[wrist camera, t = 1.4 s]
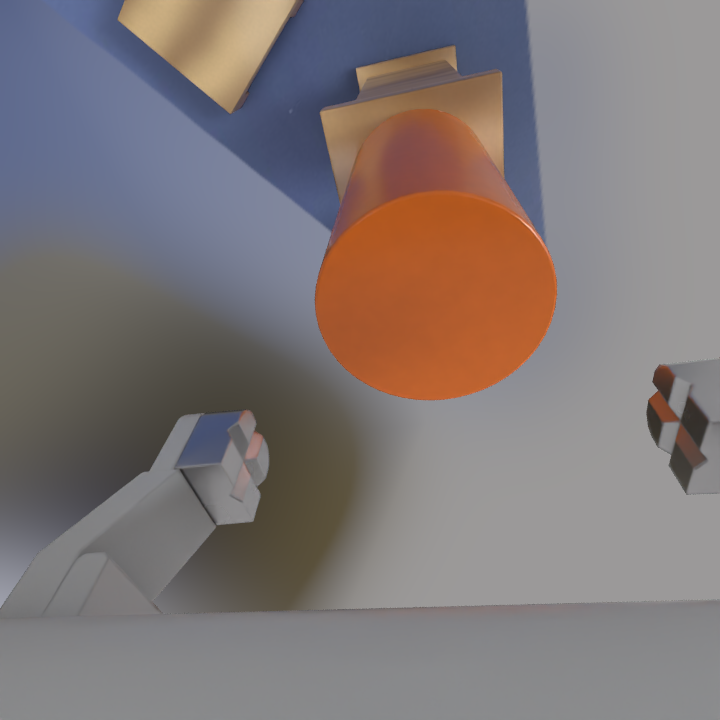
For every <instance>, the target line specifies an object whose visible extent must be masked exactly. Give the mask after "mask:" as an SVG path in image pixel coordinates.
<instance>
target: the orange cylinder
mask: <svg viewBox="0 0 720 720" xmlns="http://www.w3.org/2000/svg"><path fill="white" fill-rule="evenodd" d="M315 292H316V293H315V310H316V317H317V321H318V325H319V329H320V331H321V334H322V336H323V339H324V341H325V342H326V344H327V346H328V348H329V350H330V351H331V353H332V354H333V355H334V357H335V358H336V359H337V361H338V362H339V363H340V364H341V365H342V366H343V367H344V368H345V369H346V370H347V371H348V372H350V373H351V374H352V375H353V376H355V377H356V378H357V379H359V380H361V381H362V382H364V383H365V384H367V385H369V386H371V387H373V388H375V389H377V390H379V391H382V392H385V393H388V394H390V395H394V396H398V397H402V398H408V399H415V400H444V399H451V398H457V397H461V396H465V395H469V394H472V393H475V392H478V391H481V390H484V389H486V388H488V387H490V386H492V385H494V384H496V383H498V382H499V381H501V380H503V379H504V378H506V377H507V376H509V375H510V374H511V373H513V372H514V371H515V370H517V369H518V368H519V367H520V366H521V365H522V364H523V363H524V362H525V361H526V360H527V359H528V358H529V357H530V356H531V355H532V354H533V352H534V351H535V350H536V349H537V348H538V346H539V344H540V343H541V341H542V340H543V338H544V336H545V335H546V332H547V330H548V328H549V326H550V323H551V321H552V317H553V313H554V310H555V305H556V296H557V279H556V274H555V268H554V264H553V261H552V259H551V256H550V253H549V251H548V249H547V247H546V245H545V244H544V242H543V240H542V238H541V237H540V235H539V233H538V232H537V230H536V229H535V227H534V225H533V224H532V222H531V221H530V219H529V218H528V216H527V214H526V213H525V211H524V210H523V208H522V206H521V205H520V203H519V202H518V200H517V198H516V197H515V195H514V194H513V192H512V191H511V189H510V187H509V186H508V184H507V183H506V181H505V179H504V178H503V176H502V175H501V173H500V171H499V170H498V168H497V167H496V165H495V164H494V162H493V160H492V159H491V157H490V156H489V154H488V152H487V151H486V149H485V148H484V146H483V145H482V143H481V141H480V140H479V138H478V137H477V135H476V134H475V133H474V132H473V130H472V129H471V128H470V127H469V126H468V125H467V124H465V123H464V122H463V121H461V120H460V119H458V118H457V117H455V116H453V115H451V114H449V113H446V112H443V111H440V110H434V109H415V110H409V111H405V112H402V113H399V114H397V115H395V116H392V117H390V118H389V119H387V120H386V121H384V122H382V123H381V124H380V125H379V126H378V127H376V128H375V129H374V130H373V131H372V132H371V133H370V135H369V136H368V137H367V138H366V140H365V141H364V143H363V144H362V146H361V148H360V149H359V151H358V154H357V156H356V159H355V161H354V165H353V168H352V171H351V174H350V177H349V180H348V183H347V186H346V190H345V193H344V196H343V199H342V202H341V205H340V208H339V212H338V215H337V218H336V221H335V224H334V227H333V230H332V234H331V237H330V240H329V243H328V246H327V249H326V253H325V256H324V259H323V262H322V265H321V268H320V272H319V275H318V280H317V284H316V291H315Z"/></svg>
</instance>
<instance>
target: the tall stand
mask: <svg viewBox="0 0 720 720" xmlns="http://www.w3.org/2000/svg"><path fill="white" fill-rule="evenodd" d="M356 73H357V78H358V84H359V90H360V93H359V95H358V97H357V99H356V100H355V101H350V102H346V103H341V104H337V105H332V106H328V107H324V108H323V109H322V110H321V111H320V116H321V121H322V125H323V130H324V134H325V138H326V143H327V147H328V152H329V156H330V160H331V165H332V169H333V174H334V178H335V183H336V187H337V191H338V196H339V200H340V205H341V202H342V199H343V196H344V193H345V190H346V186H347V183H348V180H349V177H350V174H351V171H352V168H353V165H354V161H355V159H356V156H357V154H358V151H359V149H360V148H361V146H362V144H363V143H364V141H365V140H366V138H367V137H368V136H369V135H370V133H371V132H372V131H373V130H374V129H375V128H376V127H378V126H379V125H380V124H381V123H382V122H384V121H386V120H387V119H389V118H390V117H392V116H395V115H397V114H399V113H402V112H405V111H409V110H415V109H434V110H440V111H443V112H446V113H449V114H451V115H453V116H455V117H457V118H458V119H460V120H461V121H463V122H464V123H465V124H467V125H468V126H469V127H470V128H471V129H472V130H473V132H474V133H475V134H476V135H477V137H478V138H479V140H480V141H481V143H482V145H483V146H484V148H485V149H486V151H487V152H488V154H489V156H490V157H491V159H492V160H493V162H494V164H495V165H496V167H497V168H498V170H499V171H500V173H501V175H502V176H503V178H504V147H503V95H502V72H501V71H499V70H498V69H494V70H489V71H485V72H480V73H476V74H471V75H467V76H461V75H460V74H459V73H458V72H457V63H456V48H455V45H450V46H446V47H442V48H437V49H433V50H429V51H425V52H420V53H416V54H412V55H408V56H403V57H399V58H395V59H391V60H386V61H382V62H378V63H374V64H369V65H365V66H361V67H357V68H356Z"/></svg>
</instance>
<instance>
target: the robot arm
mask: <svg viewBox="0 0 720 720" xmlns="http://www.w3.org/2000/svg"><path fill="white" fill-rule="evenodd" d="M653 383H654V385H655V386H656V387H657V389H658V391H657V392H656V393H655V394H654V395H653V396H652V397H651V398H650V399H649V400H648V406H647V421H648V427H649V430H650V433H651V436H652V438H653V440H654V441H655V443H656V445H657V447H658V448H660V449H662V450H664V451H665V452H667V453H669V454H671V459H670V463H669V467H670V468H671V470H672V472H673V473H674V475H675V476H676V478H677V479H678V481H679V483H680V485H681V486H682V488H683V490H684V491H685V493H686V494H687V495H689V494H690V495H691V494H717V493H720V358H716V359H706V360H697V361H688V362H680V363H672V364H663V365H659V366H658V367H657V369H656V370H655V373H654V377H653ZM256 423H257V422H256V419H255V418H254V416H253V414H252V412H251V411H249V410H246V409H245V410H234V411H222V412H209V413H204V414H190V415H184V416H182V417H181V418H179V419H178V421H177V423H176V425H175V426H174V429H173V430H172V432H171V434H170V435H169V437H168V439H167V441H166V442H165V444H164V446H163V448H162V450H161V452H160V453H159V455H158V457H157V459H156V461H155V462H154V464H153V466H152V468H151V470H150V471H149V472H143V473H141V474H140V475H138V476H137V477H136V478H135V479H133V480H132V481H131V482H129V483H128V484H127V485H126V486H124V487H123V488H122V489H121V490H119V491H118V492H116V493H115V494H114V495H113V496H111V497H110V498H109V499H108V500H106V501H105V502H104V503H102V504H101V505H100V506H99V507H97V508H96V509H94V510H93V511H92V512H91V513H90V514H88V515H87V516H85V517H84V518H83V519H82V520H80V521H79V522H78V523H77V524H75V525H74V526H72V527H71V528H70V529H69V530H67V531H66V532H65V533H63V534H62V535H61V536H60V537H58V538H57V539H56V540H54V541H53V542H52V543H51V544H49V545H48V546H47V547H45V548H44V549H43V550H42V551H40V552H39V553H38V554H37V555H36V557H35V558H34V559H33V561H32V563H31V564H30V565H29V567H28V568H27V570H26V571H25V573H24V574H23V576H22V577H21V579H20V580H19V582H18V583H17V585H16V586H15V587H14V589H13V590H12V592H11V593H10V595H9V596H8V598H7V599H6V601H5V602H4V604H3V605H2V607H1V608H0V720H720V599H717V600H680V601H642V602H607V603H606V602H603V603H568V604H567V603H566V604H528V605H491V606H490V605H489V606H451V607H413V608H376V609H338V610H299V611H261V612H260V611H259V612H223V613H222V612H220V613H184V614H183V613H182V614H163V613H162V612H161V611H160V610H159V609H158V608H157V606H156V605H155V604H154V603H153V600H155V598H156V597H157V596H158V595H159V594H160V592H161V591H162V590H163V589H164V588H165V586H166V585H167V584H168V583H169V582H170V581H171V580H172V578H173V577H174V576H175V575H176V574H177V572H178V571H179V570H180V569H181V568H182V567H183V565H184V564H185V563H186V562H187V561H188V560H189V559H190V557H191V556H192V555H193V554H194V552H195V551H196V550H197V549H198V548H199V547H200V545H201V544H202V543H203V542H204V541H205V540H206V539H207V537H208V536H209V535H210V534H211V533H212V532H213V530H214V529H215V528H216V526H215V525H221V524H233V523H243V522H253V520H254V517H255V514H256V510H257V507H258V503H259V500H260V497H261V494H260V493H259V490H258V488H257V486H259V484H261V483H262V482H263V481H264V480H265V479H266V476H267V472H268V469H269V452H268V447H267V443H266V441H265V439H264V437H263V436H262V435H260V434H259V433H257V432H256V431H254V429H255V426H256Z"/></svg>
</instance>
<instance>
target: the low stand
mask: <svg viewBox="0 0 720 720" xmlns="http://www.w3.org/2000/svg"><path fill="white" fill-rule="evenodd" d="M303 1H304V0H125V1H124V4H123V6H122V9H121V11H120V14H119V17H118V21H119V22H121V23H122V24H123V25H124V26H125V27H127V28H128V29H129V30H130V31H131V32H133V33H134V34H135V35H136V36H137V37H139V38H140V39H141V40H142V41H143V42H145V43H146V44H147V45H148V46H149V47H151V48H152V49H153V50H154V51H155V52H157V53H158V54H159V55H160V56H161V57H163V58H164V59H165V60H166V61H167V62H169V63H170V64H171V65H172V66H173V67H175V68H176V69H177V70H178V71H179V72H181V73H182V74H183V75H184V76H185V77H187V78H188V79H189V80H190V81H191V82H193V83H194V84H195V85H196V86H197V87H198V88H200V89H201V90H202V91H203V92H204V93H206V94H207V95H208V96H209V97H210V98H212V99H213V100H214V101H215V102H216V103H218V104H219V105H220V106H221V107H222V108H224V109H225V110H226V111H227V112H228V113H230V114H232V113H233V112H235V111H237V110H238V109H240V108H241V107H242V105H243V103H244V102H245V100H246V98H247V97H248V95H249V92H248V91H247V90H248V88H249V86H250V85H251V83H252V81H253V80H254V78H255V76H256V74H257V73H258V71H259V69H260V68H261V66H262V64H263V62H264V61H265V59H266V57H267V55H268V54H269V52H270V50H271V49H272V47H273V45H274V43H275V42H276V40H277V38H278V37H279V35H280V33H281V31H282V30H283V28H284V26H285V24H286V23H287V21H288V19H289V18H290V17H294V16H295V15H296V13H297V11H298V10H299V8H300V6H301V4H302V3H303Z"/></svg>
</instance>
